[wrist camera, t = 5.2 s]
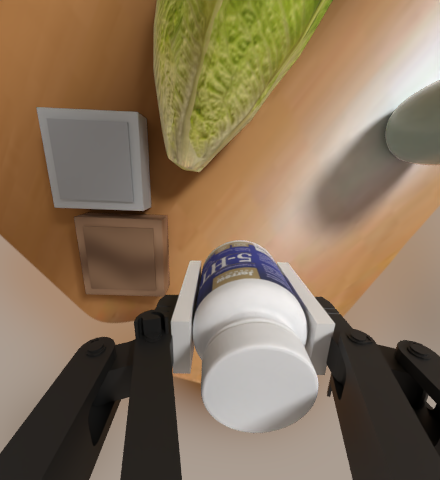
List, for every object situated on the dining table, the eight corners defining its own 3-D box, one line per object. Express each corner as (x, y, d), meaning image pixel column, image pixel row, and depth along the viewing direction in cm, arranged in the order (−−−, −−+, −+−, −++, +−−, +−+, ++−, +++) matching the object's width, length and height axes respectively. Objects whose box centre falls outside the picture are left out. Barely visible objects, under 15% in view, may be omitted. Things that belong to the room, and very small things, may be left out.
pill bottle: (240, 223, 15) (271, 294, 6) (290, 274, 16) (373, 393, 7) (186, 273, 16) (148, 393, 7) (236, 318, 17) (254, 465, 8)
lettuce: (95, 132, 21) (182, 186, 15) (186, -290, 13) (441, -510, 7) (183, 162, 31) (255, 201, 25) (265, -65, 23) (398, -84, 17)
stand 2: (88, 212, 28) (72, 217, 25) (167, 215, 28) (160, 220, 25) (98, 282, 31) (84, 295, 28) (169, 285, 31) (164, 297, 28)
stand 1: (57, 114, 25) (34, 106, 22) (146, 118, 25) (136, 111, 22) (71, 203, 28) (52, 207, 25) (151, 206, 28) (142, 211, 25)
